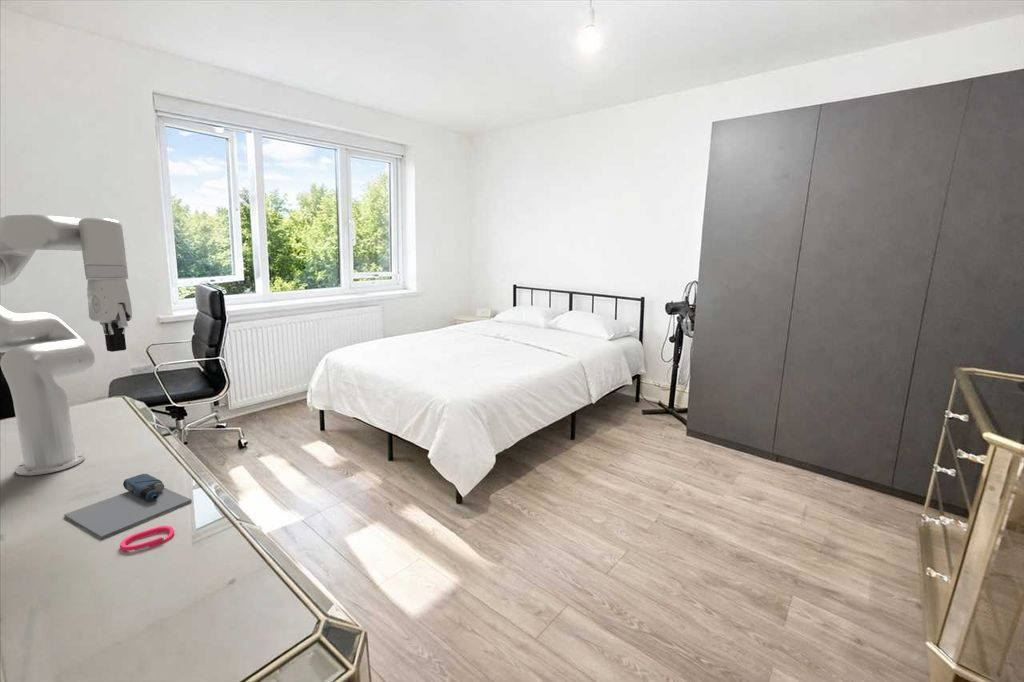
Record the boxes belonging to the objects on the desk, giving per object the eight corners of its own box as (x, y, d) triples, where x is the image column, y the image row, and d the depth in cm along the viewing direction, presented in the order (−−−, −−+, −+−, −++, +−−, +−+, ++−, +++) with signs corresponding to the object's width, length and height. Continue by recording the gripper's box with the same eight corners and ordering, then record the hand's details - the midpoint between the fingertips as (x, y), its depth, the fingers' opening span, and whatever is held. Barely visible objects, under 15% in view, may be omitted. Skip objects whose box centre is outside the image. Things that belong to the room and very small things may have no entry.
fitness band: (121, 558, 83) (120, 551, 83) (119, 543, 87) (118, 536, 87) (176, 541, 88) (175, 533, 88) (172, 528, 93) (171, 521, 92)
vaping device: (120, 480, 104) (147, 494, 99) (147, 471, 109) (175, 484, 103) (122, 490, 105) (148, 505, 99) (148, 481, 109) (175, 495, 104)
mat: (64, 517, 95) (64, 514, 95) (153, 485, 109) (152, 482, 109) (101, 539, 88) (101, 536, 88) (191, 502, 102) (191, 499, 102)
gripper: (71, 272, 107) (82, 349, 110) (102, 274, 100) (113, 356, 104) (110, 272, 114) (120, 345, 117) (142, 273, 107) (151, 351, 110)
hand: (116, 350), depth 110 cm, fingers closed
